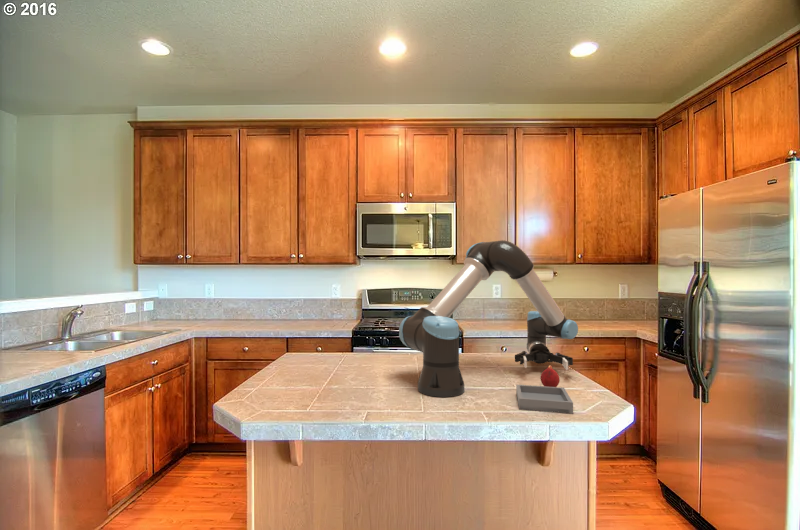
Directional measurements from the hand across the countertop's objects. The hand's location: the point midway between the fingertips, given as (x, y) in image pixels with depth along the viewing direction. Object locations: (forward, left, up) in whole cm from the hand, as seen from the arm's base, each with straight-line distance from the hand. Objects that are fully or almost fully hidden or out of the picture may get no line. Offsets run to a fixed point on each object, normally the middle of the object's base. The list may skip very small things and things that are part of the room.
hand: (546, 364), depth 134 cm
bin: (-17, -17, -6) cm, 24 cm away
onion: (-6, -8, -6) cm, 12 cm away
